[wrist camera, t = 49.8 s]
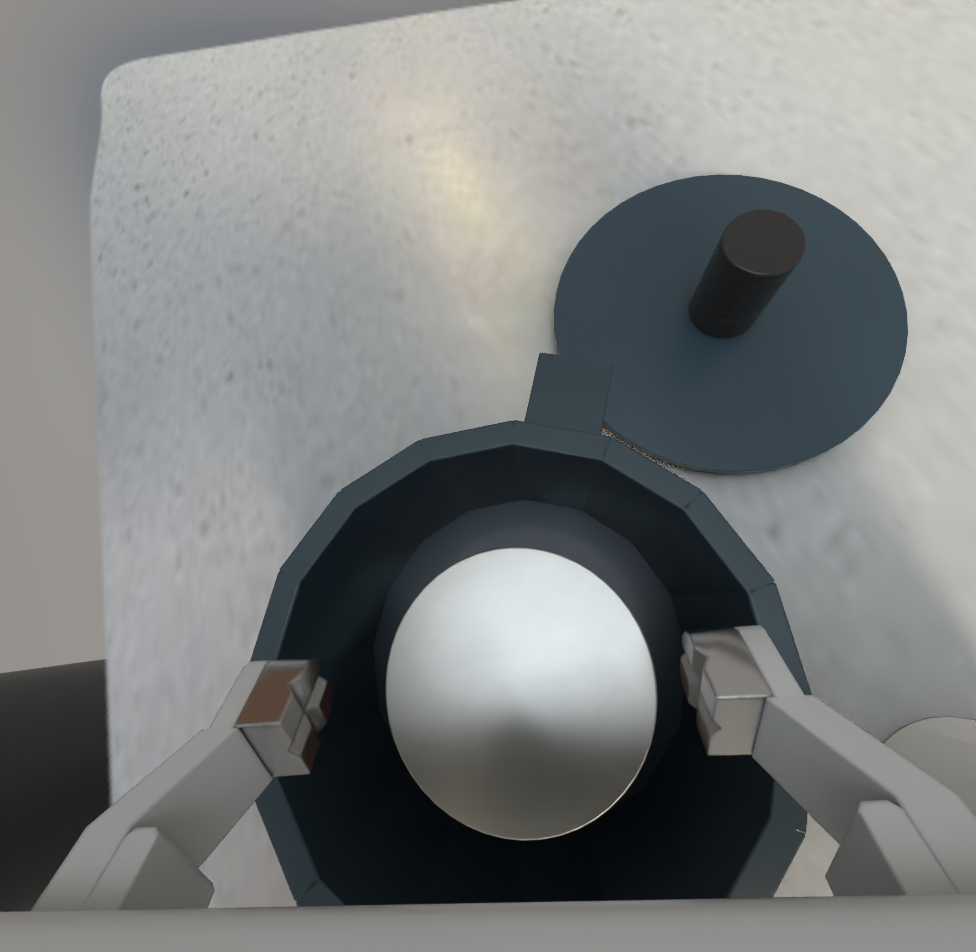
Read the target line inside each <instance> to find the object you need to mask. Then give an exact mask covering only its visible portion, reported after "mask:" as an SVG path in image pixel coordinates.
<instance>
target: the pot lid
mask: <svg viewBox="0 0 976 952" xmlns="http://www.w3.org/2000/svg"><path fill="white" fill-rule="evenodd" d="M554 333H555V339H556V346H557V351H558V354H559V355H561V356H568V357H575V358H582V359H589V360H596V361H602V362H609V363H613V365H614V366H613V371H612V377H611V382H610V388H609V394H608V399H607V405H606V410H605V416H604V421H603V425H604V426H605V427H606V428H607V429H608V430H610V431H611V432H612V433H613V434H614V435H616V436H617V437H619V438H620V439H622V440H623V441H625V442H626V443H628V444H629V445H631V446H632V447H634V448H636V449H638V450H640V451H642V452H644V453H646V454H648V455H650V456H652V457H654V458H657V459H660V460H663V461H665V462H668V463H671V464H673V465H677V466H681V467H685V468H689V469H694V470H698V471H705V472H714V473H723V474H736V473H755V472H763V471H771V470H776V469H780V468H784V467H787V466H791V465H795V464H798V463H801V462H803V461H806V460H808V459H811V458H813V457H816V456H818V455H820V454H822V453H824V452H826V451H827V450H829V449H831V448H833V447H834V446H836V445H838V444H840V443H841V442H843V441H845V440H846V439H847V438H849V437H850V436H851V435H852V434H854V433H855V432H856V431H858V430H859V429H860V428H862V427H863V426H864V425H865V424H866V423H867V421H868V420H869V419H870V418H871V417H872V416H873V415H874V414H875V413H876V412H877V411H878V410H879V408H880V407H881V405H882V404H883V403H884V401H885V400H886V398H887V397H888V395H889V394H890V392H891V390H892V388H893V386H894V384H895V382H896V380H897V378H898V376H899V374H900V371H901V367H902V364H903V360H904V357H905V353H906V345H907V336H908V325H907V311H906V306H905V301H904V297H903V292H902V289H901V287H900V284H899V282H898V279H897V277H896V274H895V272H894V270H893V268H892V267H891V265H890V263H889V261H888V259H887V258H886V256H885V254H884V253H883V252H882V250H881V249H880V248H879V247H878V245H877V244H876V243H875V241H874V240H873V239H872V238H871V237H870V236H869V235H868V234H867V233H866V232H865V231H864V230H863V229H862V228H861V227H860V226H859V225H858V224H857V223H856V222H855V221H854V220H852V219H851V218H850V217H849V216H847V215H846V214H845V213H843V212H842V211H841V210H839V209H838V208H836V207H834V206H833V205H831V204H830V203H828V202H826V201H825V200H823V199H821V198H819V197H817V196H815V195H813V194H810V193H808V192H806V191H804V190H802V189H799V188H796V187H793V186H790V185H787V184H784V183H781V182H777V181H772V180H768V179H764V178H758V177H750V176H742V175H708V176H697V177H691V178H686V179H680V180H675V181H672V182H669V183H665V184H662V185H658V186H656V187H653V188H651V189H648V190H646V191H644V192H641V193H639V194H637V195H635V196H633V197H631V198H630V199H628V200H626V201H624V202H622V203H621V204H619V205H618V206H617V207H615V208H614V209H612V210H611V211H610V212H608V213H607V214H605V215H604V216H603V217H602V218H601V219H600V220H599V221H598V222H597V223H596V224H595V225H593V226H592V227H591V229H590V230H589V231H588V232H587V233H586V234H585V236H584V237H583V238H582V239H581V240H580V242H579V243H578V245H577V246H576V248H575V249H574V251H573V253H572V254H571V256H570V257H569V259H568V262H567V264H566V266H565V268H564V270H563V272H562V275H561V279H560V282H559V285H558V289H557V293H556V300H555V308H554Z"/></svg>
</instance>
